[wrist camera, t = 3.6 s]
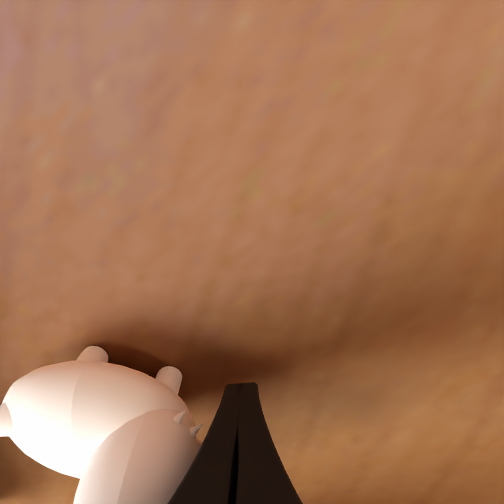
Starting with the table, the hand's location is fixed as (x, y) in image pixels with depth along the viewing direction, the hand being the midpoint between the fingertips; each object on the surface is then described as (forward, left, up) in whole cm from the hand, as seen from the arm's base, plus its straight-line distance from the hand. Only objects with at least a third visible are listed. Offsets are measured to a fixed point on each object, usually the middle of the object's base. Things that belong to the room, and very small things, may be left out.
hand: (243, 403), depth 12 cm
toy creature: (0, +5, -2) cm, 5 cm away
